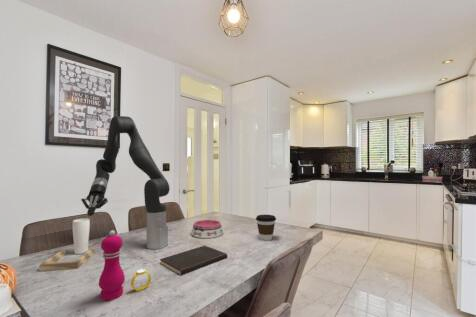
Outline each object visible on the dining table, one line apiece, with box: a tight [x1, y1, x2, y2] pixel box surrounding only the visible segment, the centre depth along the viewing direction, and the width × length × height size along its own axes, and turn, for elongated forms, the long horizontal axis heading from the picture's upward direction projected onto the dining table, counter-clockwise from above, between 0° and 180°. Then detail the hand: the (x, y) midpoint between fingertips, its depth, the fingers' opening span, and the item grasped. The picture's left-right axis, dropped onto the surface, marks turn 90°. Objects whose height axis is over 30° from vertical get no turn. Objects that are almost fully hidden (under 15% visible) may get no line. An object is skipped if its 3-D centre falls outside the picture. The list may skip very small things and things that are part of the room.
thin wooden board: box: [38, 247, 96, 272], centre depth 103 cm, size 17×13×2 cm
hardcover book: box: [159, 245, 228, 276], centre depth 103 cm, size 16×23×2 cm
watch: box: [130, 268, 152, 292], centre depth 80 cm, size 6×3×6 cm, turn 130°
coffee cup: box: [255, 214, 277, 242], centre depth 131 cm, size 11×11×12 cm
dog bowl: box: [190, 219, 224, 240], centre depth 142 cm, size 18×19×7 cm
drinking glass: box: [72, 218, 91, 255], centre depth 114 cm, size 7×7×15 cm
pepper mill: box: [98, 229, 126, 301], centre depth 76 cm, size 7×7×20 cm
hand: (90, 214), depth 124 cm, fingers closed
